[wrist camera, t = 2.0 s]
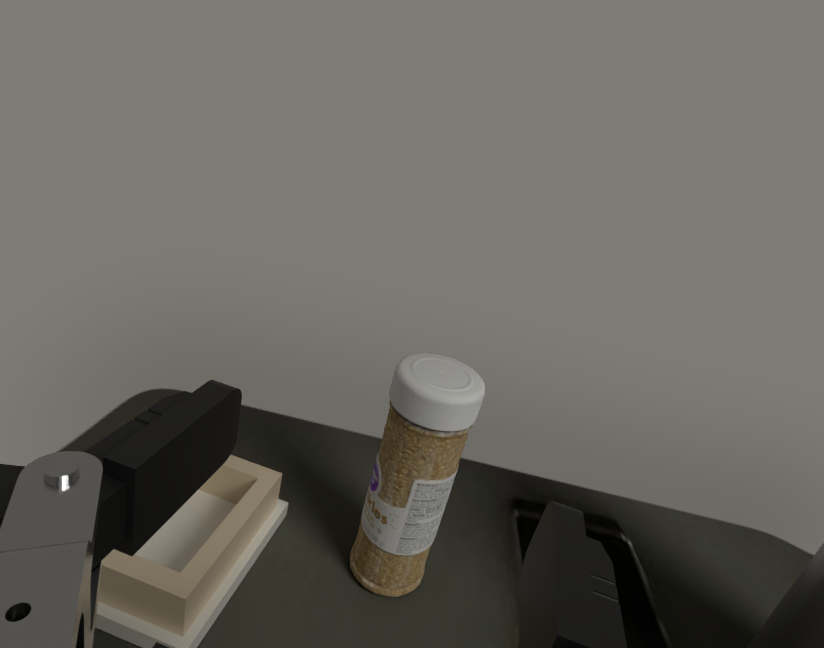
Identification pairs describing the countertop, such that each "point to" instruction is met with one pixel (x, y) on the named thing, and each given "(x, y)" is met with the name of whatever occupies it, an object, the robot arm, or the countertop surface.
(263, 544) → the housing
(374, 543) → the sprinkles bottle
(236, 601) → the countertop surface
